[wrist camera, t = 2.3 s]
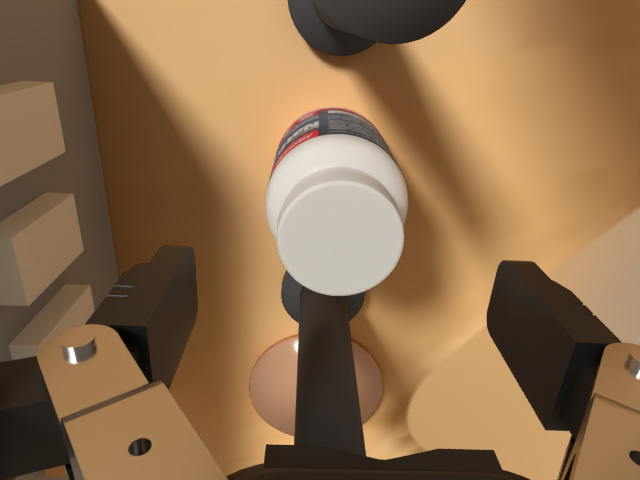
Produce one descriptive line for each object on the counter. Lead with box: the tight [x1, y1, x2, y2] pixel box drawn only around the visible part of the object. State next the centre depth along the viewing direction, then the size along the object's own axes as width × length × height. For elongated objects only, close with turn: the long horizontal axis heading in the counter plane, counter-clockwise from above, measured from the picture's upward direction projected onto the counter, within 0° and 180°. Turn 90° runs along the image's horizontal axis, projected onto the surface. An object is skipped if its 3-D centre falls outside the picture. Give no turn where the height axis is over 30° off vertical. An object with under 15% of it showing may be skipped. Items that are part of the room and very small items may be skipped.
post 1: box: [281, 271, 366, 456], centre depth 19 cm, size 4×4×14 cm
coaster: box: [249, 334, 383, 436], centre depth 28 cm, size 8×8×1 cm
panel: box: [0, 0, 119, 480], centre depth 18 cm, size 22×2×12 cm, turn 177°
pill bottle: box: [265, 107, 408, 296], centre depth 18 cm, size 5×5×9 cm
